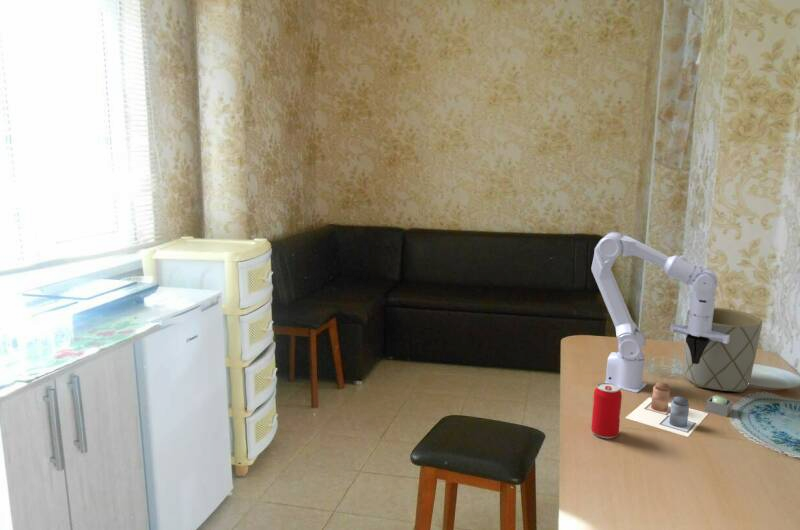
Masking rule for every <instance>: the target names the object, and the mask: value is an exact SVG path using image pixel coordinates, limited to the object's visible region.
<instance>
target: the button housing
mask: <svg viewBox="0 0 800 530" xmlns="http://www.w3.org/2000/svg"><path fill="white" fill-rule="evenodd" d="M713 396H715V395H714V394H711V395H710V396H709V397H708V398H707V400H706V402H705V409H704V411H705V413H711V414H714V415H718V416H722V417H725V418H726V417H728V415H729V414H730V413H731V412H732V408H733V402H734V400H732V399H729V398H727V405H722V404H719V403H715V402H712V398H713Z"/></svg>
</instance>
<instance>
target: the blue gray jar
mask: <svg viewBox="0 0 800 530" xmlns="http://www.w3.org/2000/svg"><path fill="white" fill-rule="evenodd" d="M670 403H671V411H670V420H669V423H670V424H671V425H673V426H675V427H680V428H683V427H686V426H687V421H688V412H689V408H690V403H689V400H688V399H687V398H686V397H682V396H674V397H673V400H671V402H670Z"/></svg>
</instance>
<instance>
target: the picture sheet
mask: <svg viewBox="0 0 800 530" xmlns="http://www.w3.org/2000/svg"><path fill="white" fill-rule="evenodd" d="M651 403H652V397H648V398H646V399H645V400H644V401H643V402H642V403H641V404H639V405H638V407H636V408H635V409H634V410H633V411H632V412H630V413H629V414H628V415H626V417H625V419H627V420H631V421H634V422H637V423H640V424H643V425H647V426H651V427H653V428H658V429H660V430H664V431H666V432H667V431H668V432H670V433H673V434H677V435H680V436H683V437H687V438H688V437H690V435H691V434H692V432H694V430H695V429H696V428H697V427H698V426H699V425H700V423H702V422H703V420H704V419H706V417H707V416H708V414H709V412H706V411H705V412H704V411H700V410H697V409H693V408H690V407H689V412H688V421H687V426H686V427H683V428H680V427H675V426H673V425H671V424H670V423H669V420H670V411H671V402H669V403H668V410H667V411H665V412H661V411H656V410H654V409H652V408H651Z"/></svg>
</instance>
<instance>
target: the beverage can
mask: <svg viewBox="0 0 800 530" xmlns="http://www.w3.org/2000/svg"><path fill="white" fill-rule="evenodd" d="M622 397H623V394H622V391H621V389H620V387H619V386H617V385H615V384H612V383H605V382H600V383H597V384H596V387H595V389H594V390H593V399H592V400H593V404H592V416H591V428H590V429H591V432H592V433H593V434H594V435H595V436H597V437H598V438H602V439H613V438H615V437H618V435H619V431H620V424H621V423H620V421H621V409H622Z"/></svg>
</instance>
